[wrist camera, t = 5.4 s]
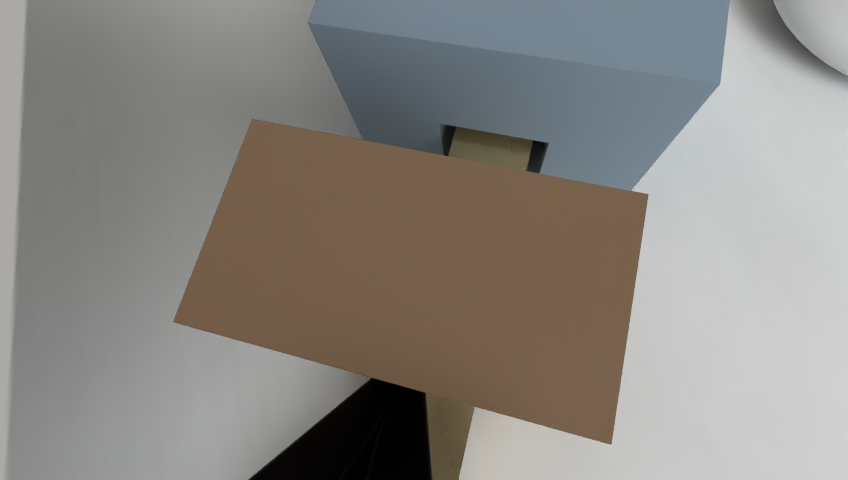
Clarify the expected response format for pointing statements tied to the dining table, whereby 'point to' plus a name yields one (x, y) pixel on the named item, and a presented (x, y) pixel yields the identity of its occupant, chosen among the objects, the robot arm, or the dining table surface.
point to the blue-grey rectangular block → (528, 75)
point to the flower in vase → (819, 28)
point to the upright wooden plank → (428, 275)
